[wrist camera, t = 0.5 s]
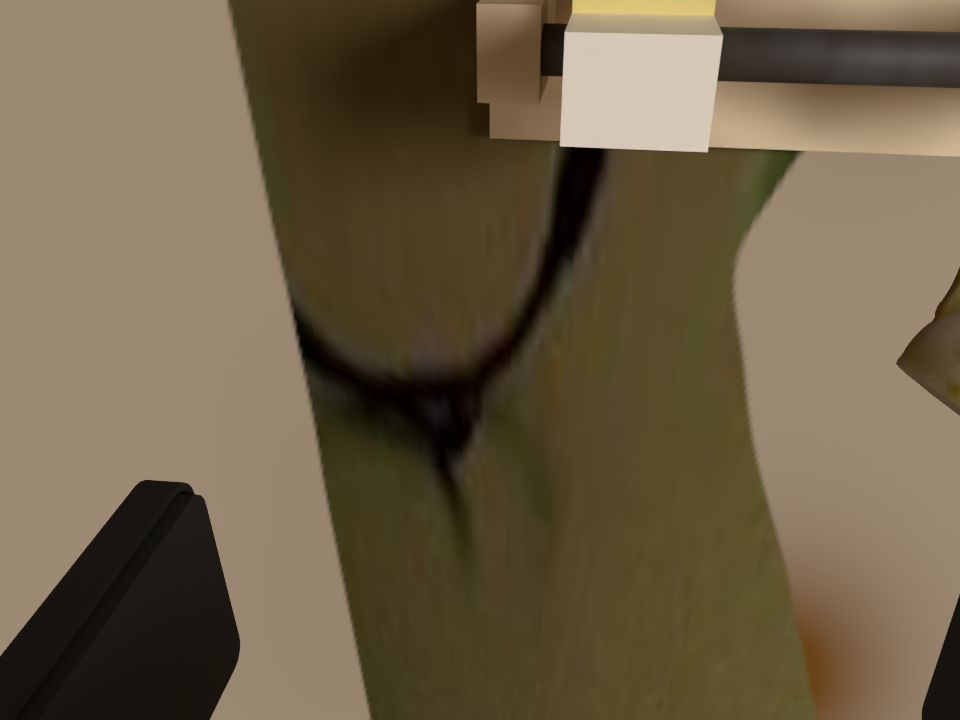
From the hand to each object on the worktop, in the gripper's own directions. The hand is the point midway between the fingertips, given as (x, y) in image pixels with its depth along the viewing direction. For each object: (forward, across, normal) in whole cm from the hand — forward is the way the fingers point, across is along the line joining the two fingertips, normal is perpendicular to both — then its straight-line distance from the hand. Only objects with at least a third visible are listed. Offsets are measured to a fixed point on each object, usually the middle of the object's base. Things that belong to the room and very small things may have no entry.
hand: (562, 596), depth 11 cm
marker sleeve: (+23, -1, -3) cm, 23 cm away
